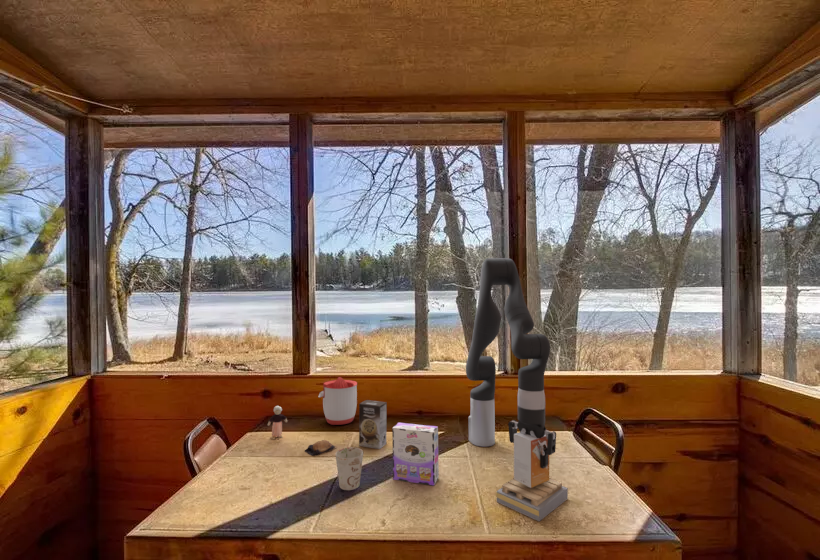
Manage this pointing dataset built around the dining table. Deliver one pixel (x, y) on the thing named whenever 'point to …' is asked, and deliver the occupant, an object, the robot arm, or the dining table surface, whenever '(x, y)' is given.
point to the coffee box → (372, 424)
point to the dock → (526, 506)
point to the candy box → (415, 453)
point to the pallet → (533, 490)
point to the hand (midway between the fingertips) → (531, 463)
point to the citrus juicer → (339, 401)
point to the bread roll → (320, 448)
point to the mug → (349, 467)
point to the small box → (529, 460)
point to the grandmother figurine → (277, 422)
